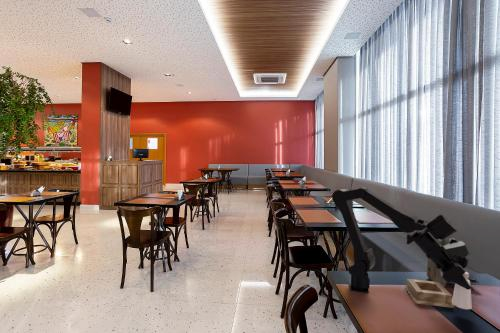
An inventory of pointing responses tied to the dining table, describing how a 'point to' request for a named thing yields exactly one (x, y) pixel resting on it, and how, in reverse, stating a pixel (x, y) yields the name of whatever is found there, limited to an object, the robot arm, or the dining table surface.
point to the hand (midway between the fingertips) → (468, 286)
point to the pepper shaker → (462, 295)
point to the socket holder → (429, 293)
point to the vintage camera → (434, 272)
